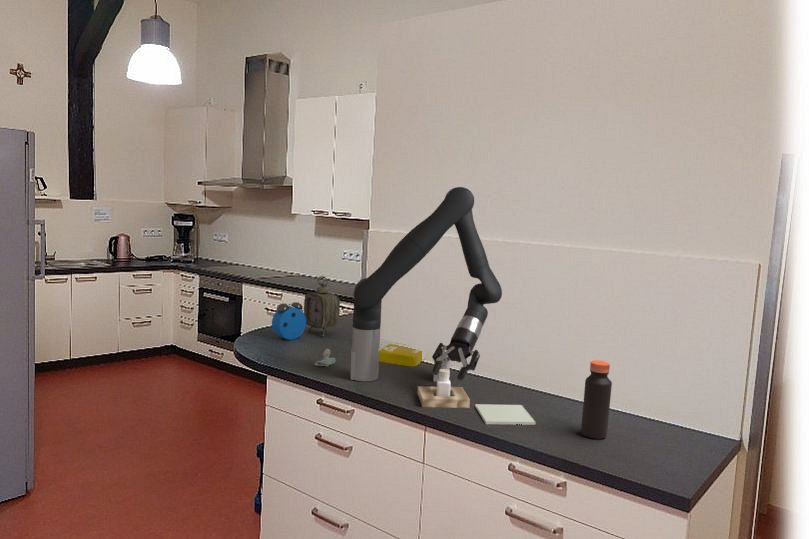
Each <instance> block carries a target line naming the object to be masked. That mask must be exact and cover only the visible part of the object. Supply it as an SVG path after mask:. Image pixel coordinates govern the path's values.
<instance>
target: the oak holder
mask: <svg viewBox="0 0 809 539" xmlns="http://www.w3.org/2000/svg"><path fill="white" fill-rule="evenodd" d="M436 393H437V386H429V385H428V386H426V385H425V386H417V396H418V399H419V401H420V405H421V407H422V408H444V409H445V408H447V409H448V408H449V409H452V408H454V409H455V408H457V409H459V408H460V409H470V402H471V399H470V397H469V396H468V394H467V392H466V391H465V390H464V388H463V386H451V387H450V396H436Z"/></svg>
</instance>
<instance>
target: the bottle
mask: <svg viewBox="0 0 809 539" xmlns="http://www.w3.org/2000/svg"><path fill="white" fill-rule="evenodd" d="M589 366H590V367H589V372H590V375H589V376H587V377H586V378H585V381H584V391H583V392H584V393H583V402H582V403H583V405H582V415H581V425H580V427H581V428H580V434H581V435H582V434H583V435H582V436H584V435H585V436H587V437H586V438H588V437H590V438H589V439H591V438H596V439H595V440H602V439H601V438H604V439H606V438H607V436H608V429H609V428H608V427H609V418H610V407H611V406H610V405H611V395H612V385H613V383H612V380H611V379H610V378H609V377H608V375H609V373H610V369H611V368H610V367H611V364H610V363H609V362H608V361H604V360H591V361H590V365H589ZM585 436H584V437H585ZM605 437H606V438H605Z"/></svg>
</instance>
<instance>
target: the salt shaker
mask: <svg viewBox="0 0 809 539" xmlns="http://www.w3.org/2000/svg"><path fill="white" fill-rule="evenodd" d="M450 375H451V370H450V371H449V370H447V369H440V370H439V380H437V382H436V387H437V393H436V396H450V387H452V385H451V384H452V383H451V380H450Z"/></svg>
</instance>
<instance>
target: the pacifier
mask: <svg viewBox="0 0 809 539" xmlns="http://www.w3.org/2000/svg"><path fill="white" fill-rule="evenodd" d="M330 355H331V350H330V349H329V348H326V349H324V351H323V353H322V356H323V359H322V360H316V362H314V365H315V366H317V367H322V366H326V367H329V365H330V366H331V365H333V364H335V362H336V358H335V357H330Z"/></svg>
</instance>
